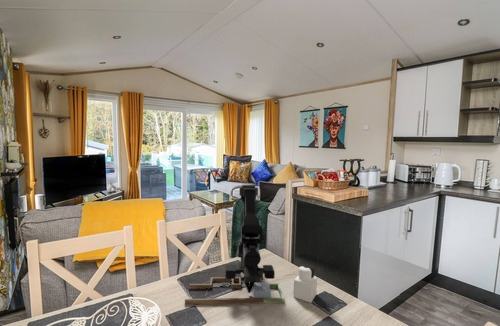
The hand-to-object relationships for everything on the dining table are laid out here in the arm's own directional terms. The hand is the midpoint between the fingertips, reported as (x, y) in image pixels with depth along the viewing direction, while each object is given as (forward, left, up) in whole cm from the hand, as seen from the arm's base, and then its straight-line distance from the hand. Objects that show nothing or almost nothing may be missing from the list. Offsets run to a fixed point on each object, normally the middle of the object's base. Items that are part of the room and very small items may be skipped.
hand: (249, 292), depth 102 cm
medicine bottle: (+1, +22, -1) cm, 22 cm away
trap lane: (-3, -5, -1) cm, 6 cm away
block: (+1, +5, -1) cm, 5 cm away
